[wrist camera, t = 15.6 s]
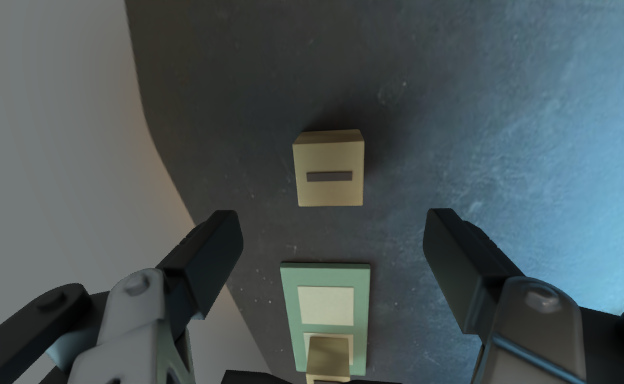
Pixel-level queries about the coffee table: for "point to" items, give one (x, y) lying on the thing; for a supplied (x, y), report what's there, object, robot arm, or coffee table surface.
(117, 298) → the robot arm
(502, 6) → the coffee table surface
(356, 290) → the word board
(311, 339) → the light wooden cube
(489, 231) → the coffee table surface
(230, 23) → the coffee table surface
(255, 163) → the coffee table surface
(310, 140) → the tan cube
